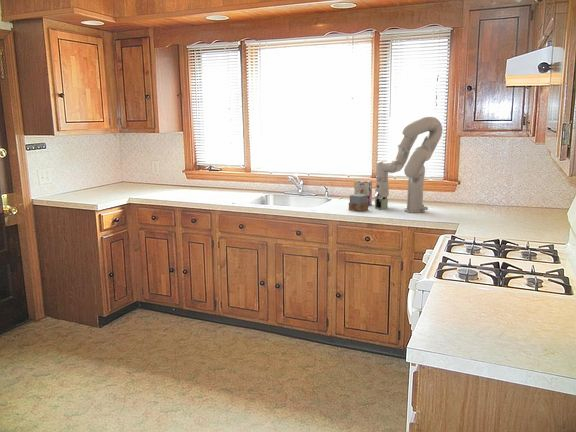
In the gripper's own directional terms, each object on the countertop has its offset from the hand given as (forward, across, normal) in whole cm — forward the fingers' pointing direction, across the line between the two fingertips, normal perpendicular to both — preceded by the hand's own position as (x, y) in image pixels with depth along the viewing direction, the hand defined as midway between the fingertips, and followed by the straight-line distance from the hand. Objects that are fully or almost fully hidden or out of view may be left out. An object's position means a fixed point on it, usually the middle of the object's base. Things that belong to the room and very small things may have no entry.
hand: (381, 206), depth 335 cm
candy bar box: (+1, +4, +17) cm, 17 cm away
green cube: (+1, 0, 0) cm, 1 cm away
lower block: (+1, -15, +8) cm, 17 cm away
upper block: (-4, -15, +8) cm, 18 cm away
